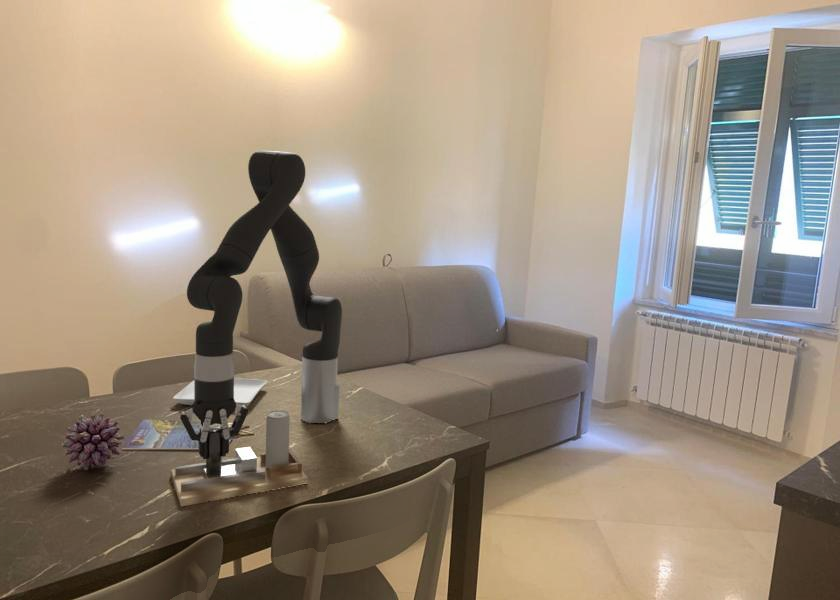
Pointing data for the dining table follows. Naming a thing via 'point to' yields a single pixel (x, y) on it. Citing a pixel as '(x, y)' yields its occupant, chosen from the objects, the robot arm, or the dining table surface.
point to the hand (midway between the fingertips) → (214, 456)
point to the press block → (214, 468)
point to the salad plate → (242, 391)
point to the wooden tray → (234, 480)
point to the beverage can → (277, 438)
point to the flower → (93, 441)
